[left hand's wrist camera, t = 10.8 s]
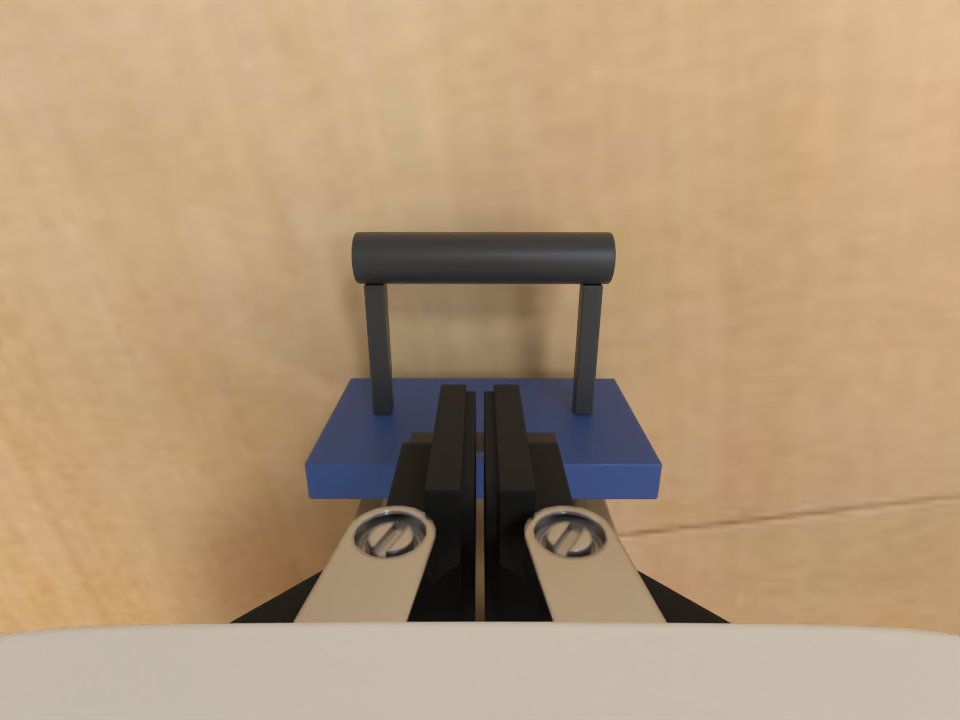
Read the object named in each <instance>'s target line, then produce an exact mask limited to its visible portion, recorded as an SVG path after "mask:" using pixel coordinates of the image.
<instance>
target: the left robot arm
mask: <svg viewBox="0 0 960 720" xmlns="http://www.w3.org/2000/svg"><path fill="white" fill-rule="evenodd" d="M475 591H476V391H466V384H441V388H440V395H439V401H438V407H437V414H436V420H435V426H434V433H433V439H432V442H404V443H402V446H401V450H400V454H399V458H398V462H397V466H396V469H395V473H394V477H393V481H392V485H391V489H390V493H389V497H388V501H387V505H386V507H381V508H376V509H374V510H371V511H369V512H366V513H364V514H362V515H361V516H359V517H358V518H356V519H355V520H354V521H353V522H352V523H351V524H350V526H349V527H348V528H347V530H346V531H345V533H344V535H343V537H342V538H341V540H340V542H339V544H338V545H337V547H336V549H335V550H334V552H333V554H332V556H331V557H330V559H329V561H328V563H327V564H326V566H325V568H324V570H323V571H321V572H319V573H317V574H315V575H314V576H312V577H310V578H308V579H307V580H305V581H303V582H301V583H300V584H298V585H296V586H294V587H292V588H291V589H289V590H287V591H285V592H284V593H282V594H280V595H278V596H276V597H275V598H273V599H271V600H269V601H268V602H266V603H264V604H262V605H261V606H259V607H257V608H255V609H253V610H252V611H250V612H248V613H246V614H245V615H243V616H241V617H239V618H238V619H236V620H234V621H232V622H230V623H224V624H140V625H113V626H86V627H63V628H53V629H43V630H33V631H23V632H16V633H11V634H5V635H0V720H960V635H955V634H949V633H944V632H937V631H927V630H917V629H907V628H897V627H874V626H847V625H820V624H736V623H730V622H728V621H726V620H724V619H722V618H721V617H719V616H717V615H715V614H714V613H712V612H710V611H708V610H707V609H705V608H703V607H701V606H699V605H698V604H696V603H694V602H692V601H691V600H689V599H687V598H685V597H684V596H682V595H680V594H678V593H676V592H675V591H673V590H671V589H669V588H668V587H666V586H664V585H662V584H660V583H659V582H657V581H655V580H653V579H652V578H650V577H648V576H646V575H645V574H643V573H641V572H639V571H637V570H636V568H635V566H634V564H633V563H632V561H631V559H630V557H629V556H628V554H627V552H626V550H625V549H624V547H623V545H622V544H621V542H620V540H619V538H618V537H617V535H616V533H615V531H614V530H613V528H612V527H611V526H610V524H609V523H608V522H607V521H606V520H605V519H604V518H602V517H601V516H599V515H598V514H596V513H594V512H591V511H589V510H586V509H584V508H579V507H574V505H573V501H572V497H571V493H570V489H569V485H568V481H567V477H566V473H565V469H564V466H563V462H562V458H561V454H560V450H559V446H558V443H556V442H528V439H527V433H526V426H525V420H524V414H523V407H522V401H521V395H520V388H519V384H494V391H484V591H485V622H475Z"/></svg>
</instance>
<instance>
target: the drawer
mask: <svg viewBox="0 0 960 720" xmlns="http://www.w3.org/2000/svg"><path fill="white" fill-rule="evenodd" d="M615 256H616V252H615V241H614V237H613V235H612V233H609V232H357V233H355V235H354V237H353V242H352V268H353V273H354V277H355V280H356V282H357V283H359V284H365V285H364V293H365V307H366V320H367V333H368V347H369V360H370V373H371V379H351V380H350V382H349V383H348V385H347V387H346V389H345V391H344V393H343V395H342V396H341V398H340V400H339V402H338V404H337V406H336V407H335V409H334V411H333V413H332V415H331V417H330V419H329V420H328V422H327V424H326V426H325V428H324V430H323V432H322V433H321V435H320V437H319V439H318V441H317V443H316V445H315V446H314V448H313V450H312V452H311V454H310V456H309V457H308V459H307V461H306V463H305V469H306V476H307V484H308V492H309V497H310V498H311V499H360V501H359V504H358V507H357V510H356V513H355V516H354V519H353V521H354V520H355V519H356V518H358V517H359V516H361V515H362V514H364V513H366V512H369V511H371V510H374V509H376V508H381V507H386V505H387V501H388V497H389V493H390V489H391V485H392V481H393V477H394V473H395V469H396V466H397V462H398V458H399V454H400V450H401V446H402V443H404V442H432V439H433V433H434V426H435V420H436V414H437V407H438V401H439V395H440V388H441V384H466V391H476V591H475V622H485V591H484V391H494V384H519V388H520V395H521V401H522V407H523V414H524V420H525V426H526V433H527V439H528V442H556V443H558V446H559V450H560V454H561V458H562V462H563V466H564V469H565V473H566V477H567V481H568V485H569V489H570V493H571V497H572V501H573V505H574V507H579V508H584V509H586V510H589V511H591V512H594V513H596V514H598V515H599V516H601V517H602V518H604V519H605V520H606V521H607V522H608V523H609V524H610V526H611V527H612V528H613V530H614V531H615V533H616V535H617V532H616V529H615V526H614V523H613V520H612V518H611V515H610V512H609V509H608V506H607V503H606V500H605V499H656V498H657V497H658V490H659V483H660V475H661V468H662V464H661V462H660V460H659V458H658V456H657V455H656V453H655V451H654V449H653V448H652V446H651V444H650V442H649V440H648V439H647V437H646V435H645V433H644V431H643V430H642V428H641V426H640V424H639V423H638V421H637V419H636V417H635V415H634V414H633V412H632V410H631V408H630V406H629V405H628V403H627V401H626V399H625V398H624V396H623V394H622V392H621V390H620V389H619V387H618V385H617V383H616V381H615V380H614V379H595V376H596V364H597V352H598V340H599V327H600V315H601V303H602V291H603V286H602V285H601V284H608V283H610V282H611V280H612V277H613V274H614V268H615ZM387 284H580V293H579V308H578V323H577V338H576V353H575V368H574V379H392V367H391V351H390V334H389V318H388V301H387ZM617 537H618V535H617Z"/></svg>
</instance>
